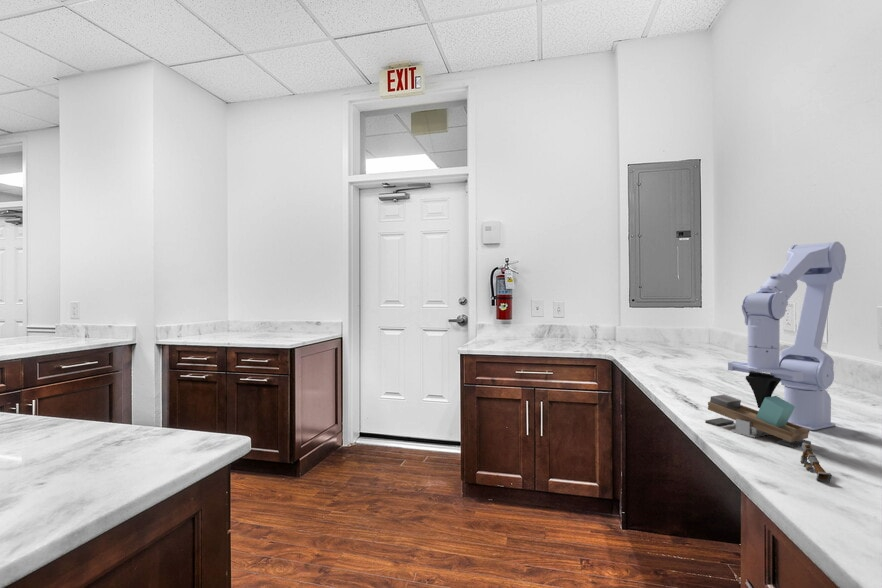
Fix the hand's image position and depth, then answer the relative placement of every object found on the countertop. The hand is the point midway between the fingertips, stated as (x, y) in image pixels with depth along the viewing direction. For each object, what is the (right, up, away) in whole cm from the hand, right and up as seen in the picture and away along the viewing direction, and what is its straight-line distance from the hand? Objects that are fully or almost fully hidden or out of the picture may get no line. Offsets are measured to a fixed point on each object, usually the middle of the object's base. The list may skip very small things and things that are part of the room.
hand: (762, 407), depth 98 cm
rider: (+1, -3, -1) cm, 3 cm away
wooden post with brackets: (-6, -7, -21) cm, 22 cm away
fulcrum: (-1, -6, +2) cm, 6 cm away
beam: (-1, -4, +2) cm, 4 cm away
